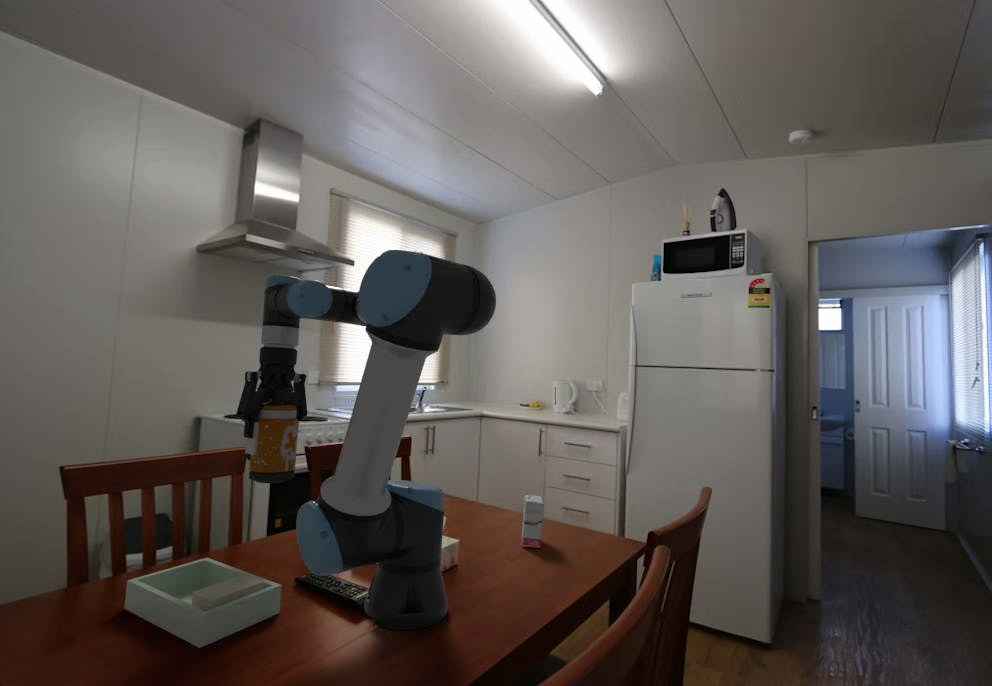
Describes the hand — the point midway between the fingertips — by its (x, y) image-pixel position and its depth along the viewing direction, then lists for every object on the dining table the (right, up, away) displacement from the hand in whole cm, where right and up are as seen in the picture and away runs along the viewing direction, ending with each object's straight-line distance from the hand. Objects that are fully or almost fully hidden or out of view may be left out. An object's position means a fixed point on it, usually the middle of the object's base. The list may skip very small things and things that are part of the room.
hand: (270, 451), depth 109 cm
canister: (0, -6, -1) cm, 6 cm away
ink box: (+58, -31, +27) cm, 71 cm away
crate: (-2, -24, -22) cm, 32 cm away
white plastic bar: (+3, -23, -25) cm, 34 cm away
